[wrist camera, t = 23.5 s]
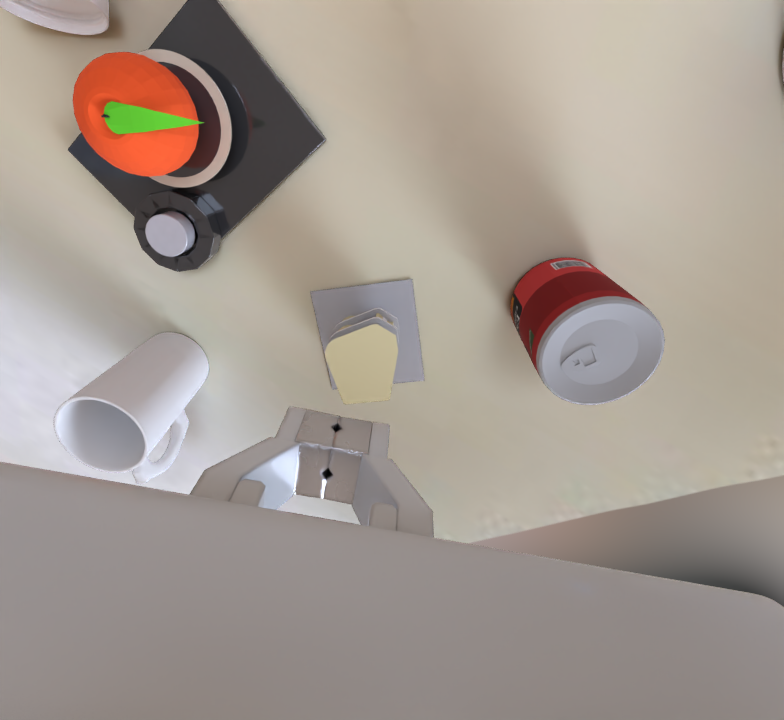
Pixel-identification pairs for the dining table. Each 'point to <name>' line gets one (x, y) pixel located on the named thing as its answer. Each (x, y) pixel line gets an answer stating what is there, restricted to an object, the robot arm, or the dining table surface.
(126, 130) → the clementine
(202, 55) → the hob
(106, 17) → the spread jar
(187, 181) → the cooking ring
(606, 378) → the canned food
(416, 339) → the stacked layers on plate
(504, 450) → the dining table surface
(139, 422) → the mug
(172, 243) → the button
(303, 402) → the dining table surface
